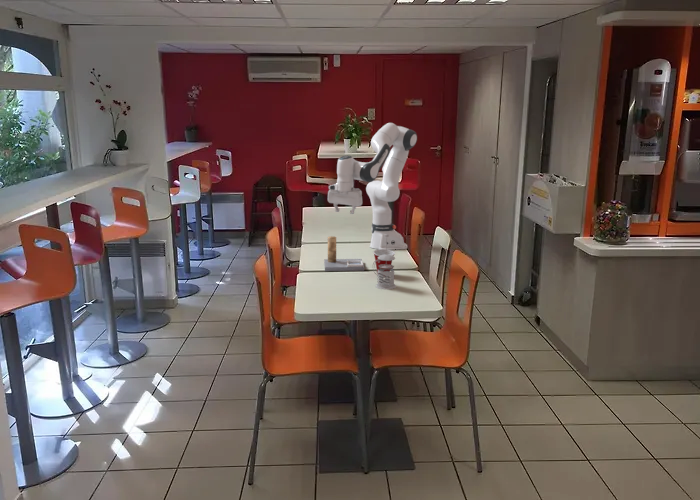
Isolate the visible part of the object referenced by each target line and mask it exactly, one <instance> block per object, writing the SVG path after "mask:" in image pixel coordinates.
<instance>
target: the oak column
mask: <svg viewBox="0 0 700 500" xmlns="http://www.w3.org/2000/svg"><path fill="white" fill-rule="evenodd" d="M327 259H328V262H331V263H333V262H336V259H337V237H336V236H333V235H331V236H328V237H327Z"/></svg>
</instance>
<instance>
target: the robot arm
mask: <svg viewBox="0 0 700 500" xmlns="http://www.w3.org/2000/svg"><path fill="white" fill-rule="evenodd" d="M370 140H371V141H370V147H371V148H372V150H373V151H374V153H376V154H375V156H374V157H373V158H372V160H371V161H369V162H368V161H367V162H364V161H363V162H362V161H358V160H356V159H354V158H353V156H351V155H343V156H340V157H339V158H338V159H337V164H336V174H337V179H336V183H334V184H331V185H328V191H327V202H328V203H329V204H333V208H334V209H335V210H334V211H335V212H336V213H340V208H339V206H338V205H346V206H351V208H352V209H351V210H350V212H349V214H350V215H354V214H355V210H356V209H357V207H360V206H363V196H362V195H363V191H362V189H360V188H355V187H354V180H355V181H356V180H357V181H363V182H366V183H368V184H367V185H366V187H365V191H366V194H367V196H368V197H369V199H370V204H371V211H372V222H371V240H370V244H369V248H371V249H375V250H378V249H386V240H387V250H391V251H395V249H396V250H407V249H408V244H407V243H405V242H404V237H403V235H402V234H401V233H399V232H398V231H396V229H397V226H396V225H395V224H394V223H392V209H391V207H390V206H389V203H391V202H395V201H397V200H398V199H399V197H400V194H401V193H400V192H401V191H400V188H399V181H400V178H401V177H400V176H401V174H402V172H403V169H404V167H405V164H406V162H407V160H408V156H409V153H410V150H411V149H412V148H414V147H415V146H416V143H417V142H418V134H417V132H416V131H415V130H413V129H409V128H407V127H404V126H401V125H397V124H395V123H393V122H388V123H385V124H384V125H382V127H381V128H379V129H378V130H377V132H375V134H374V135H372V138H371V139H370ZM380 170H381V171H382V180H378V179H377V177H378V175H379V173H380ZM376 179H377V180H376ZM385 234H388V235H389V237H385Z"/></svg>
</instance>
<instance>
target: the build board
mask: <svg viewBox="0 0 700 500" xmlns="http://www.w3.org/2000/svg"><path fill="white" fill-rule="evenodd" d="M323 262H324V263H323V265H324V272H355V271H356V272H360V271H365V266H364V261H363V260H362V258H346V259H344V258H336V262H333V263H331V262H328V258H325V259H324V260H323Z"/></svg>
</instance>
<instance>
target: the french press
mask: <svg viewBox="0 0 700 500" xmlns="http://www.w3.org/2000/svg"><path fill="white" fill-rule="evenodd" d="M385 237H389V235H388V234H385ZM395 259H396V258H395V256H392V255H389V254H387V240H386V254H383V255H380V256H379V257H378V260H382V261H386V262H387V261H392V262H393V261H394V260H395ZM376 261H377V260H376ZM379 262H380V261H379ZM379 262H378V263H379ZM372 265H373V269H372V271H373V272H374V274H375V275H376V276H377V284H375V288H377V289H380V290H393V289H396V288H397V285H396V284H395V265H393V264H391V265H388V264H384V265H383V264H382V265H379V269H378V274H377V269H376V262H375V261H374V262H373V263H372ZM387 269H388V270H390V271H384V270H387ZM383 271H384V272H383ZM384 275H385V276H384Z"/></svg>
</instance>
